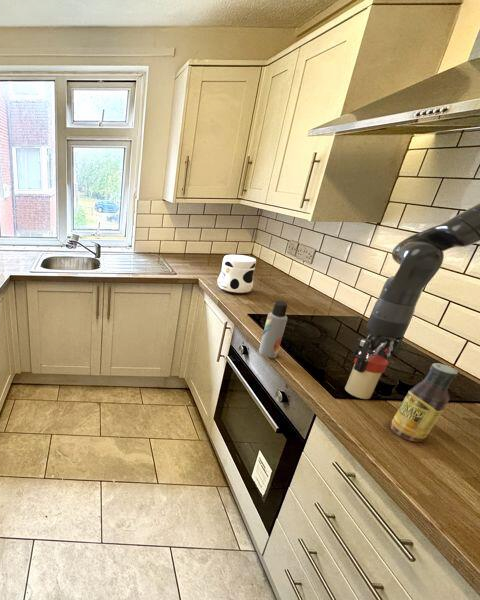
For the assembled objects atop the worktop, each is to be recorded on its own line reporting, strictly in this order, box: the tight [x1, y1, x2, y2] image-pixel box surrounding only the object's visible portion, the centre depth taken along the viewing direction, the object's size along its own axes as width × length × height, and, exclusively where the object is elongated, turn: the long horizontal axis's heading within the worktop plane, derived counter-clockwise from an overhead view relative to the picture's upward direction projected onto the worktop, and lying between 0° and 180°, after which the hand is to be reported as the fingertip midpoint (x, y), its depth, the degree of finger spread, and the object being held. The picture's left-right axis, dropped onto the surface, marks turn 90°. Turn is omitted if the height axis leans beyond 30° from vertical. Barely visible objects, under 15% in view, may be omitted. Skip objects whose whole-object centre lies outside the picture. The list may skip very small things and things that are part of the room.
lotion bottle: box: [258, 300, 289, 359], centre depth 108 cm, size 6×6×20 cm
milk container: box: [217, 254, 257, 295], centre depth 167 cm, size 17×17×18 cm
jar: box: [344, 363, 383, 400], centre depth 90 cm, size 6×6×11 cm
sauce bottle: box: [389, 362, 459, 443], centre depth 74 cm, size 7×6×20 cm
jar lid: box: [353, 352, 389, 374], centre depth 88 cm, size 7×7×3 cm
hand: (367, 368), depth 89 cm, fingers closed on jar lid, 6 cm apart
